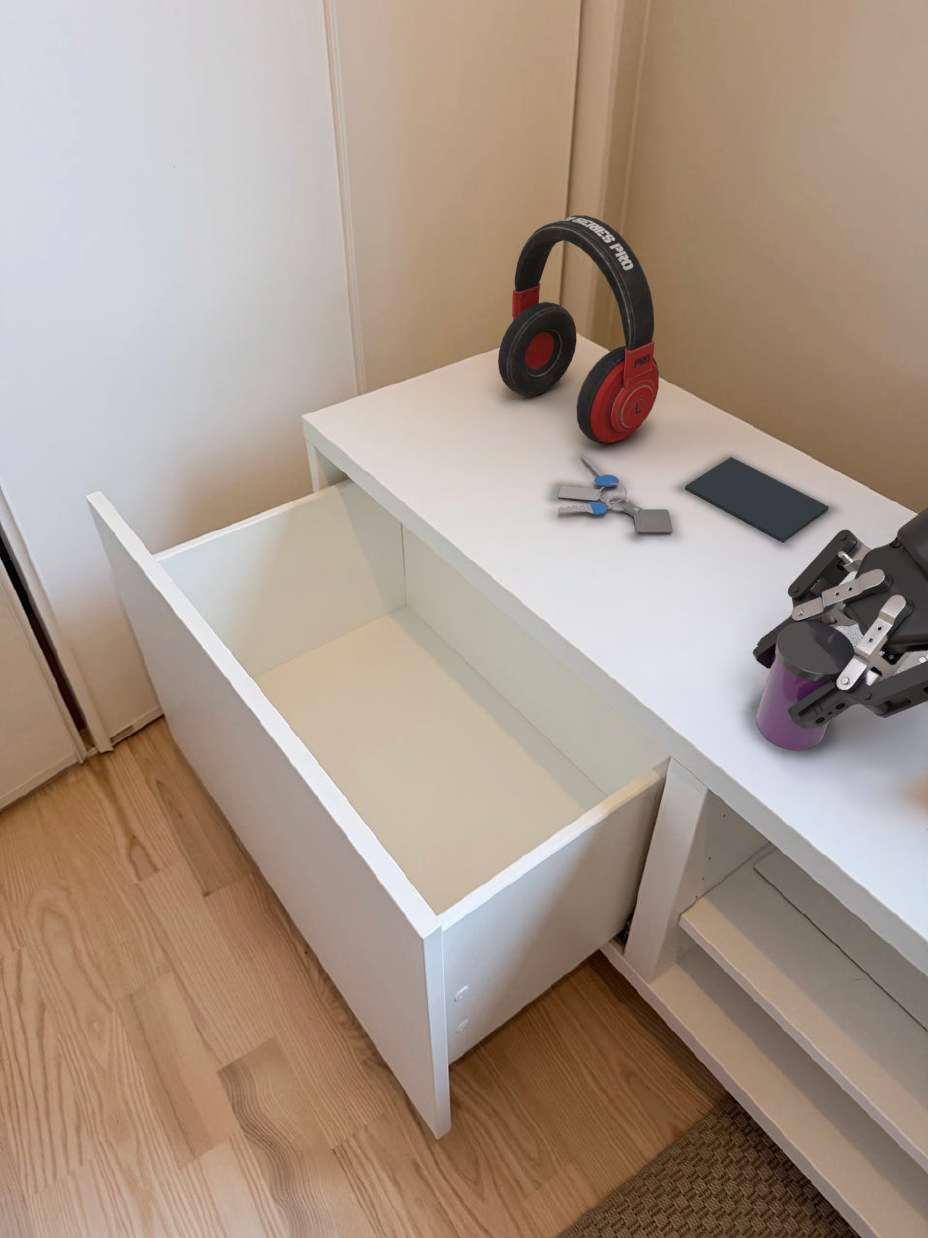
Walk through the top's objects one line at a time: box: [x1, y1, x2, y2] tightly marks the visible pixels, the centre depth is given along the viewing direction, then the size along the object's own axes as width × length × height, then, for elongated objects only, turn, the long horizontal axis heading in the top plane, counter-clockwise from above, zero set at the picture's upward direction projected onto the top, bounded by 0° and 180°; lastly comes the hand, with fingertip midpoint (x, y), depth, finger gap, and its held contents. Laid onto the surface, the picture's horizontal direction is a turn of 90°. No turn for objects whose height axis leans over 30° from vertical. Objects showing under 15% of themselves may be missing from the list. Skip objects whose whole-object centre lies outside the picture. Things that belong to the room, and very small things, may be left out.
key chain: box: [557, 453, 674, 533], centre depth 87 cm, size 14×8×1 cm, turn 36°
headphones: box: [497, 214, 660, 445], centre depth 92 cm, size 18×10×20 cm, turn 37°
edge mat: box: [684, 456, 830, 543], centre depth 87 cm, size 11×7×1 cm, turn 41°
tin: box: [755, 621, 855, 751], centre depth 65 cm, size 5×5×8 cm
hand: (778, 689), depth 65 cm, fingers closed on tin, 5 cm apart
